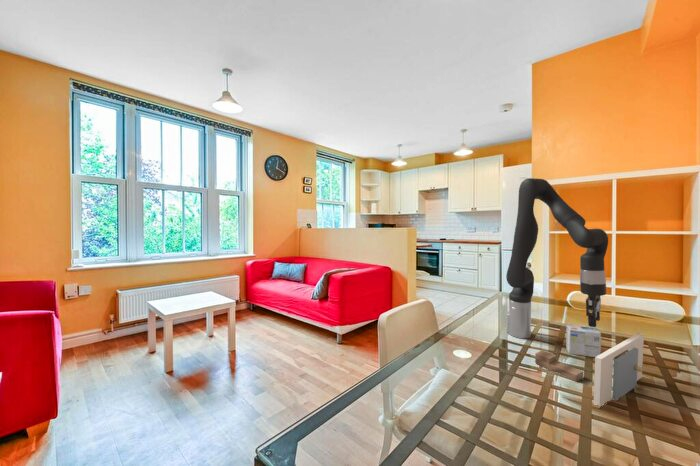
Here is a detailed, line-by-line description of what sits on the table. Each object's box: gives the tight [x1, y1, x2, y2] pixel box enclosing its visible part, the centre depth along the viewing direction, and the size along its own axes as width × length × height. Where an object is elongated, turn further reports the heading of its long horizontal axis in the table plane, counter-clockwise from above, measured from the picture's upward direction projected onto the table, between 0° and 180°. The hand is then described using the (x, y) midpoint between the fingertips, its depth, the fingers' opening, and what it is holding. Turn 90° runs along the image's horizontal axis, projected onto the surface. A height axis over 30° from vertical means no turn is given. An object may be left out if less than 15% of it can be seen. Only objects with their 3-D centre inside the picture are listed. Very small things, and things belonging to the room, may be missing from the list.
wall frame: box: [593, 332, 645, 406], centre depth 97 cm, size 2×32×16 cm, turn 118°
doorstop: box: [534, 349, 584, 383], centre depth 110 cm, size 14×5×4 cm, turn 28°
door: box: [611, 348, 643, 401], centre depth 95 cm, size 3×15×13 cm, turn 118°
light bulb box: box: [565, 323, 602, 358], centre depth 122 cm, size 11×7×11 cm, turn 65°
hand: (594, 323), depth 110 cm, fingers open, 8 cm apart
